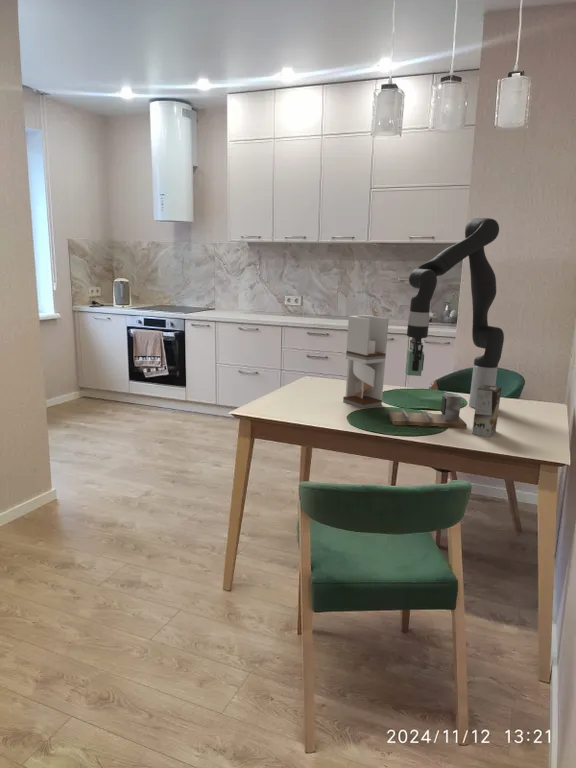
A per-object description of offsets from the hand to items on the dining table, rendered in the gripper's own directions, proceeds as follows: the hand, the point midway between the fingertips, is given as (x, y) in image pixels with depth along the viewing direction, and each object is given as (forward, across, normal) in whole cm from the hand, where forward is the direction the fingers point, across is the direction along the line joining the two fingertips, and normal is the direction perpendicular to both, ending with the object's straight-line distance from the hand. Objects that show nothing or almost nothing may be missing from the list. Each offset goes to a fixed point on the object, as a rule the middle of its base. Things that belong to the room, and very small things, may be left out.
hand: (413, 369), depth 209 cm
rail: (+18, -9, -5) cm, 20 cm away
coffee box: (+18, -18, -23) cm, 34 cm away
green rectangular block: (+2, 0, 0) cm, 2 cm away
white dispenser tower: (+18, +14, +17) cm, 28 cm away
